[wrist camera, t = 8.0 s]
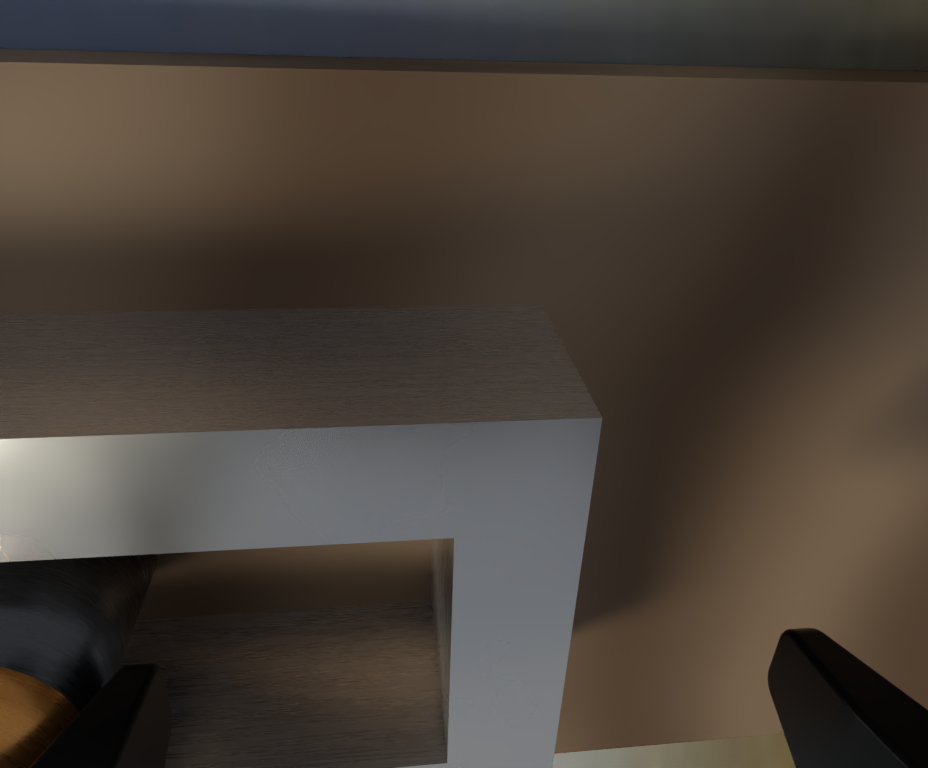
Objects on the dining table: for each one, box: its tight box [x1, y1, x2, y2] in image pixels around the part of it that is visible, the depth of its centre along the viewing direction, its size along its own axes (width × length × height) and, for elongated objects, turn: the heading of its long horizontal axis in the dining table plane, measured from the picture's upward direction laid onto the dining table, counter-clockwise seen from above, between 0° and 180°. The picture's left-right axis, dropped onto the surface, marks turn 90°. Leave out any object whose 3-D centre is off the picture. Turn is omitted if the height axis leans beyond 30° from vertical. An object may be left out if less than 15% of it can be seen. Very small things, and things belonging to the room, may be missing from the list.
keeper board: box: [0, 49, 928, 754], centre depth 13 cm, size 24×13×2 cm, turn 88°
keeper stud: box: [0, 554, 160, 768], centre depth 9 cm, size 2×2×5 cm
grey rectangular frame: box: [0, 304, 602, 768], centre depth 10 cm, size 12×7×3 cm, turn 88°
